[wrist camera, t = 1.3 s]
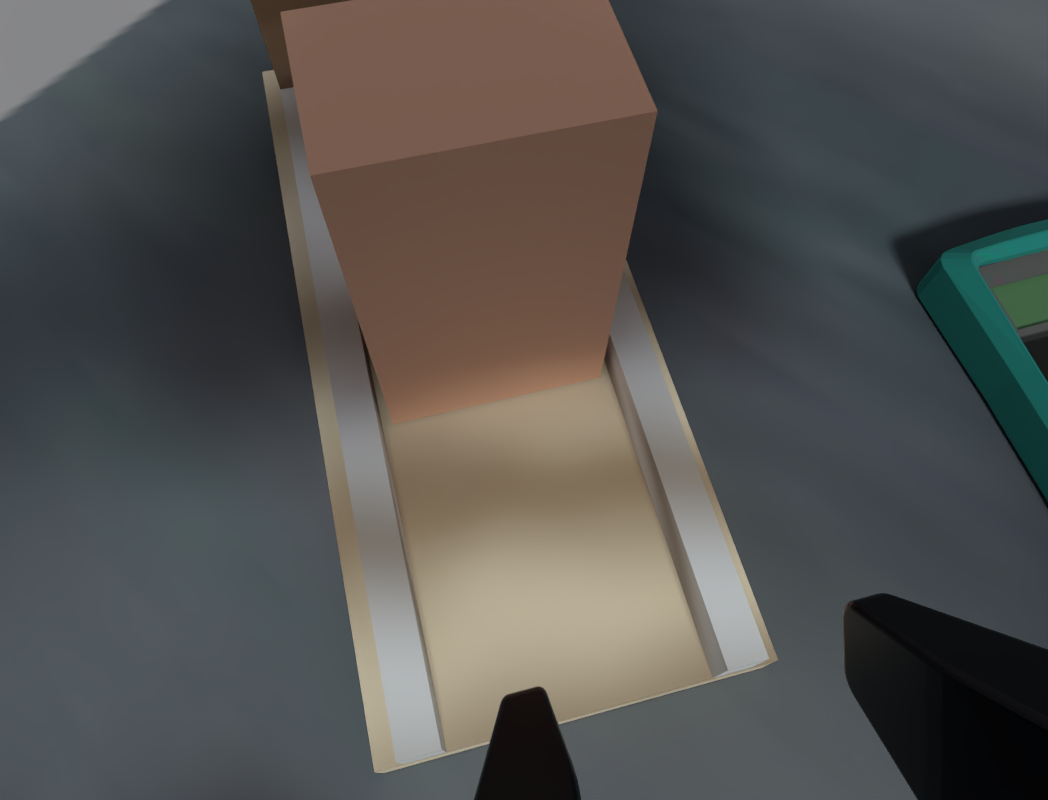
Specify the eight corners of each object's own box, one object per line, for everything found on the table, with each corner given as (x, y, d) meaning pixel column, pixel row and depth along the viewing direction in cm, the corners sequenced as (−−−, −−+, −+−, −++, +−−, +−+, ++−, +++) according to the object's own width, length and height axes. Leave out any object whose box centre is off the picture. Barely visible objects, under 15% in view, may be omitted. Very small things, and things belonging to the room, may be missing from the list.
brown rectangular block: (600, 377, 23) (657, 111, 14) (392, 424, 22) (310, 175, 13) (562, 264, 24) (591, -39, 15) (368, 305, 24) (279, 11, 15)
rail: (761, 668, 21) (857, 623, 15) (383, 772, 20) (329, 768, 14) (536, 59, 30) (541, -114, 25) (273, 104, 29) (213, -65, 23)
